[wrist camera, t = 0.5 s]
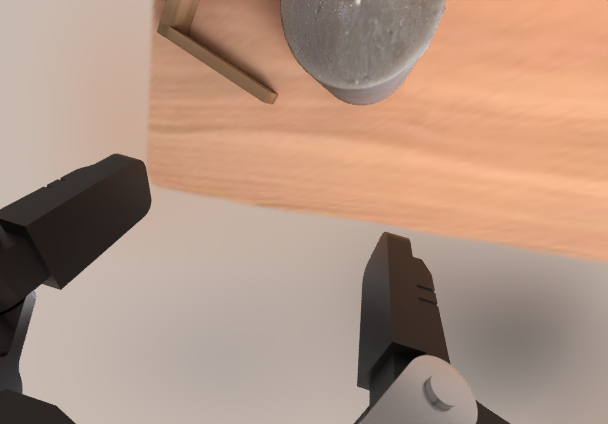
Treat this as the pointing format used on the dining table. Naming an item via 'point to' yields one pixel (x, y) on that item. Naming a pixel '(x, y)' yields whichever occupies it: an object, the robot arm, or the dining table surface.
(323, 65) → the pillar candle
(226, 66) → the brown wooden u-shaped frame
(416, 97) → the dining table surface
